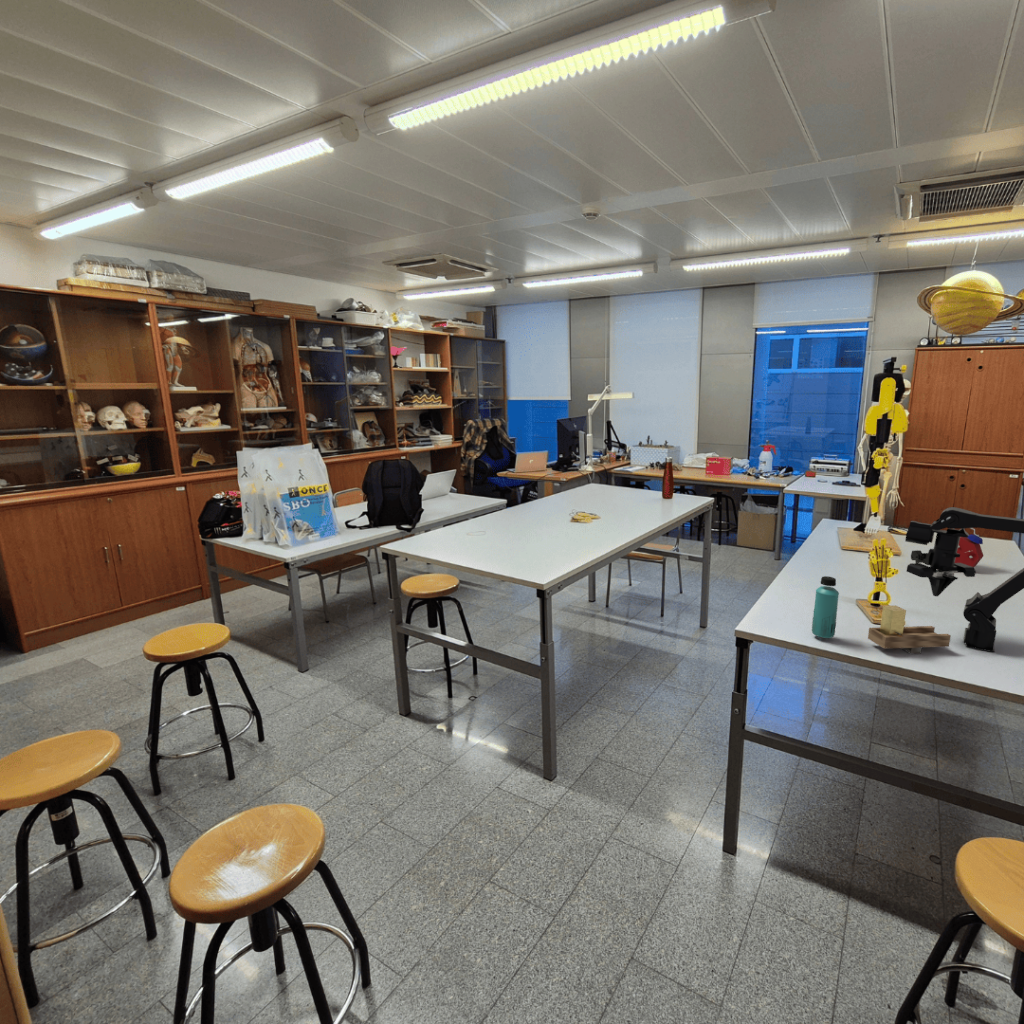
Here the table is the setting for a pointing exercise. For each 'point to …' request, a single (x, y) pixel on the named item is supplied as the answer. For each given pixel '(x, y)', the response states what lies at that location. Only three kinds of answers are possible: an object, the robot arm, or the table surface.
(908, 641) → the wooden footed tray
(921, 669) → the table surface
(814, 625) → the beverage bottle
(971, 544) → the alarm clock
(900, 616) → the beige upright block
